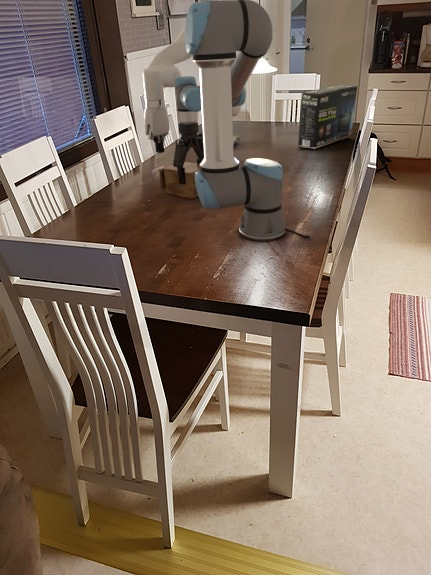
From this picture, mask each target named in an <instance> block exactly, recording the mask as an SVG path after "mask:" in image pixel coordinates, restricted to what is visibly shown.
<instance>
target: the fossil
mask: <svg viewBox="0 0 431 575" xmlns="http://www.w3.org/2000/svg"><path fill="white" fill-rule="evenodd" d="M237 140H239V141H241V138H240V135H239V134H237V133H234V132H233V146H234V145H235V144H236V143H237V142H238V141H237ZM236 141H237V142H236Z"/></svg>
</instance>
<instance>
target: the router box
mask: <svg viewBox="0 0 431 575" xmlns="http://www.w3.org/2000/svg"><path fill="white" fill-rule="evenodd" d="M357 93H358V86H356V85H350V84H339V85H338V84H337V85H334V86H328V87H324V88H318V89H314V90H309V91H304V92H301V93H300V109H299V110H300V111H299V124H298V137H297V146H298V145H302V146H307V147H317V146H320V145H323V144H325V143H328V142H331V141H333V140H336V139H338V138H341V137H344V136H347V135H351V136H352V133H353V132H352V131H353V125H354V115H355V109H356V99H357ZM311 151H313V150H312V149H311Z"/></svg>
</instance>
